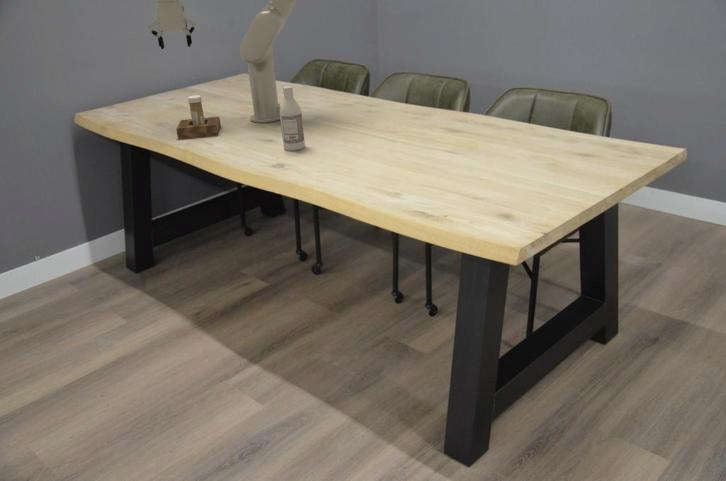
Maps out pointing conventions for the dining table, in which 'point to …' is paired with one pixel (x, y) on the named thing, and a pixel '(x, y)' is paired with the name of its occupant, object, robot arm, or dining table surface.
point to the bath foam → (291, 122)
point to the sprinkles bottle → (196, 110)
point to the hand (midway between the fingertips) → (176, 47)
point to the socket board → (198, 128)
